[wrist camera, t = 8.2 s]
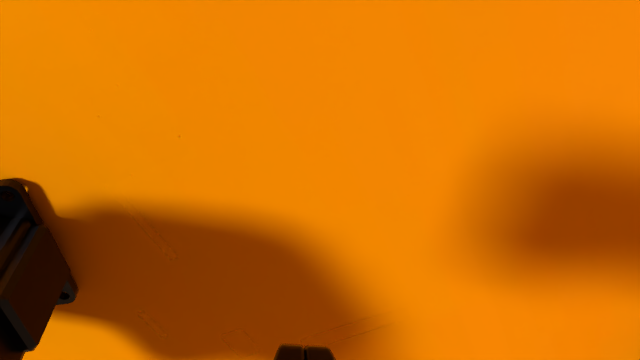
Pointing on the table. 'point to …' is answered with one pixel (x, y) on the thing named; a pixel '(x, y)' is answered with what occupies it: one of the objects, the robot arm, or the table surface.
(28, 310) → the robot arm
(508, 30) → the table surface
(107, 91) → the table surface
